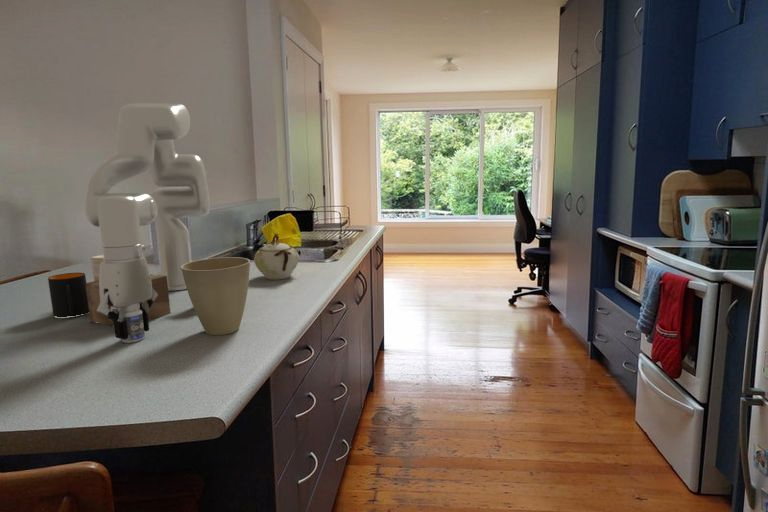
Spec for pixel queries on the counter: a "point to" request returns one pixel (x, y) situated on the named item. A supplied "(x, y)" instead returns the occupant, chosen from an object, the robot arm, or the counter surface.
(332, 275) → the counter surface
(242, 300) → the plant pot
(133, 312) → the pill bottle
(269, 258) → the sugar bowl
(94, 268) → the supplement box
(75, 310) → the mug
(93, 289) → the box
